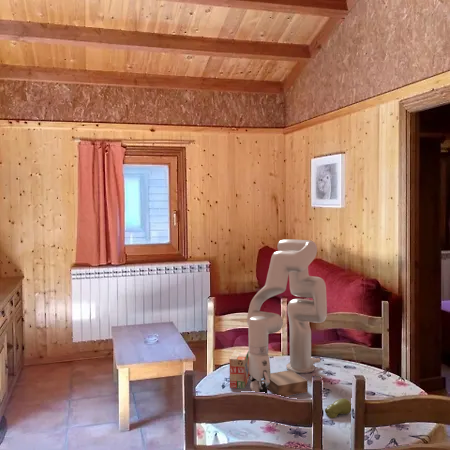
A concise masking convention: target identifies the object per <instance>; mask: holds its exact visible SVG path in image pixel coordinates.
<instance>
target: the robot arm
mask: <svg viewBox="0 0 450 450" xmlns="http://www.w3.org/2000/svg"><path fill="white" fill-rule="evenodd" d="M317 254H318V247H317V244H316V242H315V241H314V240H308V239H292V238H290V239H286V238H285V239H281V240H279V241H278V242H277V251H274V252H273V253H272V255H271V258H270V262H269V266H268V267H269V268H268V271H267V275H266V280H265V283H264V286H263V287H261V288H260V289H259V290H258V291H257V292H256V294H255V295H254V296H253V297H252V299H251V301H250V303H249V306H248V307H249V308H248V312H247V315H246V323H247V326H248V350H249V368H248V370H249V375H250V376H249V381H250V384H251V382H253V381H255V380H258V381H259V384H260V389H259V392H265V393H267V394H268V389H267V388H268V386H269V384H270V378H271V375H270V373H271V362H270V356H269V334H270V335H271V334H276V333H278V332H280V331H281V329H283V326H284V319H283V317H282V316H281V315H280V314H278V313H274V312H268V311H262V310H261V307H262V305H263V303H264V302H266V301H267V300H268V299H270V298H273V297H276V296H277V295H280V294H282V293H284V292H285V291H286V290H287V286H288V285H287V284H288V281H289V291H290V294H291V295H293V296H294V297H297V298H293V299H291V300H289V301H288V304H287V307H286V310H287V316H288V322H289V323H288V324H289V362H288V363H287V364H286V365H285V366H286V369H287V371H288V370H292V371H294V372H295V373H297V374H307V373H311V372H313V371H315V369H316V367H315V364H318V363H321V358H320V357H317V358H315V357H312V330H311V326H310V324H309V323H315V324H316V323H317V324H318V323H319V324H321V323H324V322H325V321H326V319H327V314H328V312H327V311H328V308H327V307H328V303H327V285H326V282H325V279H323V278H322V277H319V276H312V275H310V274H309V266H310V264H311V263H312V262H313V261H314V260H315V259H316V257H317ZM298 297H299V298H298ZM306 298H309V299H306ZM308 322H309V323H308ZM264 382H265V383H264ZM262 383H264V384H263V385H262ZM251 391H252V390H251V389H250V392H251Z"/></svg>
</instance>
